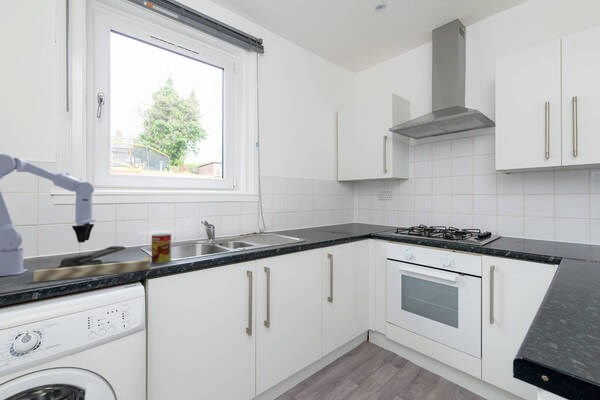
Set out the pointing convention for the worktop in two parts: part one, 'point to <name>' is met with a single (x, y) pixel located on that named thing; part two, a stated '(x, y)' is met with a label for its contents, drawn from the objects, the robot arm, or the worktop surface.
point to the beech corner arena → (91, 270)
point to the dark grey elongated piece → (88, 258)
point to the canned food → (161, 248)
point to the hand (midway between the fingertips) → (83, 241)
